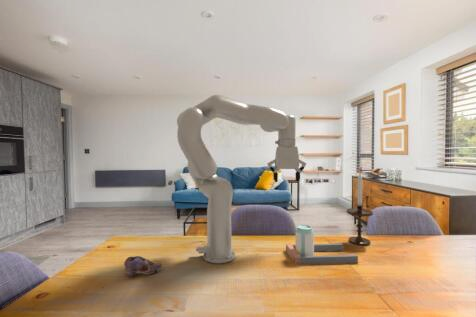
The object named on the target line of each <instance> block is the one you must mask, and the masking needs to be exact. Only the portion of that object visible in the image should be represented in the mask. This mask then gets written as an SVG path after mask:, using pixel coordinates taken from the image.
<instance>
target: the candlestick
mask: <svg viewBox="0 0 476 317" xmlns="http://www.w3.org/2000/svg"><path fill="white" fill-rule="evenodd" d="M362 169H363V166H361V167H360V169H359V170H358V172H359V174H358V176H357V204H355V207H354V208H353V207H351V208H347V209H346V213H347V214H348V215H352V216H356V217H357V224H356V226H355V227H356V228H357V230H356V233H357V236H350V237H348V242H349V243H350V244H353V245H356V246H360V247H361V246H362V247H365V246H366V247H368V246H370V245H371V240H370V239H368V238H365V237H362V233H363V230H362V229H363V228H364V225H363V224H362V218H363V217H373V215H374V211H373V210H370V209H366V208H363V207H365V205H364V204H363V176H362Z"/></svg>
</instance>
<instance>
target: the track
mask: <svg viewBox="0 0 476 317" xmlns="http://www.w3.org/2000/svg"><path fill="white" fill-rule="evenodd" d="M285 251H286V252H287V254H288V256H289V258H290V259H291V261H292V262H293V264H294V265H295V266H297V265H327V264H331V265H332V264H333V265H335V264H358V263H359V256H358V255H357V254H327V255H326V254H325V255H323V254H322V255H314V256H300V255H299V254H298V253H297V251H296V244H292V243H286V244H285ZM341 251H342V252H343V251H344V244H343V243H341V242H340V243H339V242H338V243H336V242H335V243H314V252H341Z"/></svg>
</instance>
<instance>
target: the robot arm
mask: <svg viewBox="0 0 476 317" xmlns="http://www.w3.org/2000/svg"><path fill="white" fill-rule="evenodd" d="M217 118H218V119H221V120H225V121H227V122H228V121H229V122H232V123H236V124H239V125H247V126H248V125H259V126H260V129H261V130H263V131H264V132H266V133H272V132H277V133H278V134H277V135H278V139H277V140H275V141H274V144H275V145H276V144H277V146H276V150H275V157H274V158H275V159H272V160H271V161H269V162H268V163H267V164H266V165H267V166H268V169H269V170H270V171H272V173H273V175H272V176H273V181H274V182H275V183H277V182H278V171H279V170H294V171H295V181H296V182H297V183H300V180H301V173H302V171H303V170H304V169H305V167H306V165H307V163H306V162H305V161H303V160H301V159H300V157H299V156H300V154H299V149H298V148H299V147H298V146H296V117H295V116H294V115H289V114H286V113H284V112H283V111H281V110H277V109H275V108H271V107H266V106H261V105H257V104H256V105H255V104H251V103H250V104H249V103H245V102H242V101H239V100H235V99H232V98H230V97H227V96H223V95H220V94H213V95H211V96H209V97H208V98H206V99H205V100H203V101H202V102H200V103H197V104H195V105H194V106H193V107H188V108H187V109H185V110H183V111H182V112H181V113H179V114H178V116H177V118H176V124H177V137H176V138H177V142H178V146H179V147H180V149H181V151H182V153H183V155H184V157H185V158H186V160H187V171H188V173H189V174H190V176H191V178H192V180H193V181H194V183H195V184H196V186H197V187H198V188H199V190H200V192H201V193H202V194H203V195H204V196H205V197H206V198H208V199H207V200H208V203H207V208H206V209H207V210H206V220H207V221H206V223H207V224H206V226H207V227H206V228H207V230H206V234H207V236H206V237H207V238H206V239H207V241H206V242H207V243H206V245H204V246H201V245H200V246H195V250H196V252H198V254H203V259H204V260H205V261H206V262H208V263H211V264H227V263H230V262H232V261H233V260H234V259H235V258H236V252H235V251H234V250H232V203H233V197H234V189H233V186H232V183H231V182H230V181H229V180H228V179H226V178H224V177H221V176H218V175H217V170H218V165H217V162H216V160H215V159H214V158H213V156H212V155H211V153H210V152H209V149H208V148H207V146H206V144H205V143H204V141H203V139H202V134H201V133H202V127H203V126H204V125H206V124H208V123H209V122H211V121H212V120H215V119H217ZM273 164H274V167H273ZM300 164H301V165H300Z"/></svg>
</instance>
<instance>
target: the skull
mask: <svg viewBox="0 0 476 317" xmlns="http://www.w3.org/2000/svg"><path fill="white" fill-rule="evenodd" d="M123 266H124V272H125V273H126V274H128V275H129V276H136V275H137V274H144V275H146V276H148V275H151V274H155V271H157V272H158V273H159V270H161V268H162V263H160V262H155V261H154V262H153V261H150V260H149V259H147V258H145V257H142V256H140V255H136V256H129V257H127V258H126V259H125V261H124V263H123Z"/></svg>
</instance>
